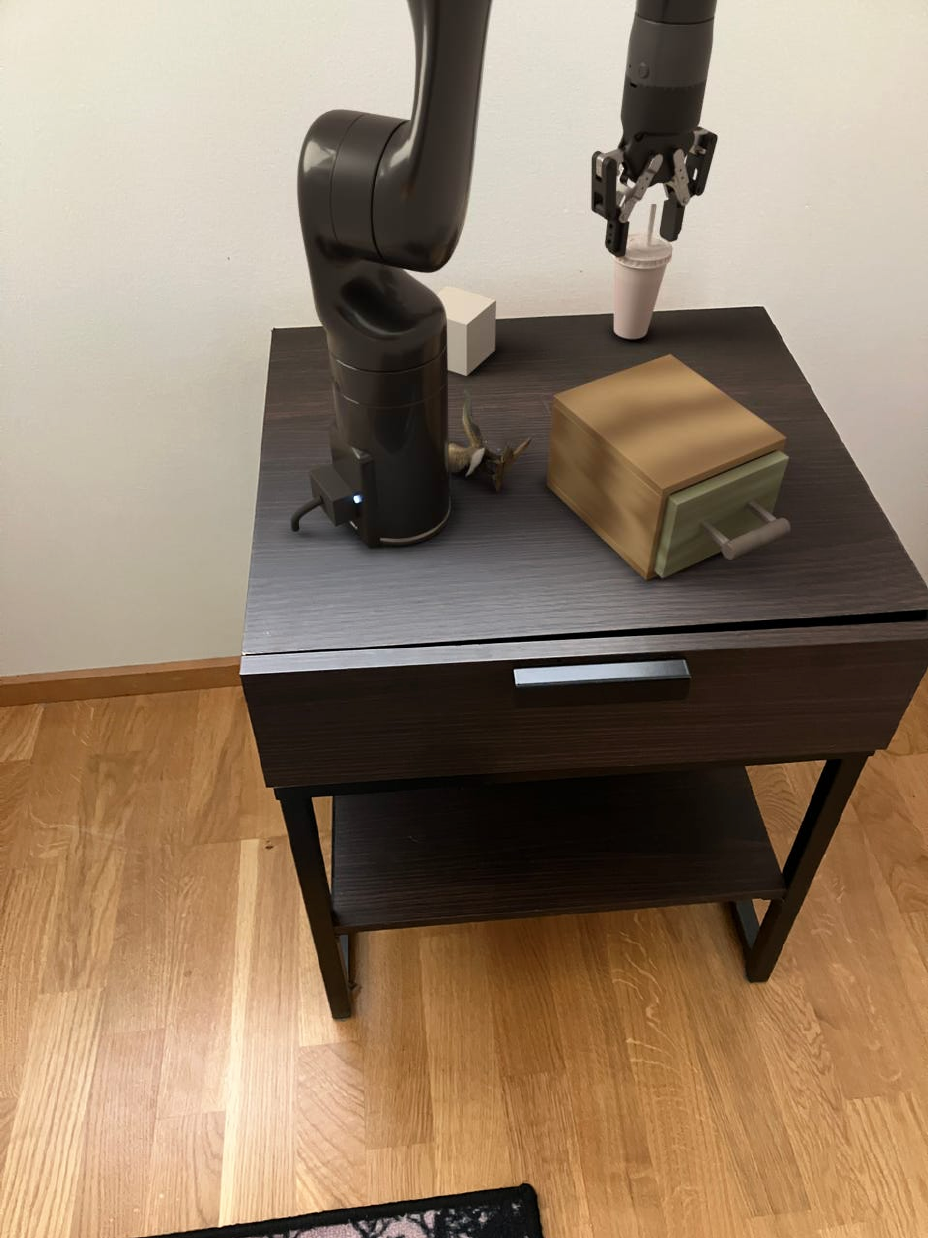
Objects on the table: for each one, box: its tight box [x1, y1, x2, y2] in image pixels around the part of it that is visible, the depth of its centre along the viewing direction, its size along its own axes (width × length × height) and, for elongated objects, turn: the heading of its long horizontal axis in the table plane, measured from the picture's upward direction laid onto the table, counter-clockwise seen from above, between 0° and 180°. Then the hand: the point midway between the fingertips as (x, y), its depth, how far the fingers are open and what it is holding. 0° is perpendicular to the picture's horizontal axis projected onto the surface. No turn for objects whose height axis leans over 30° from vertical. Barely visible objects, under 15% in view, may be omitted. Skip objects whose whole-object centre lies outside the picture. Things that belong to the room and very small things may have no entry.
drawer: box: [654, 450, 791, 579], centre depth 81 cm, size 18×12×8 cm, turn 31°
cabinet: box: [546, 353, 787, 581], centre depth 84 cm, size 15×13×10 cm
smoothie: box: [610, 203, 674, 340], centre depth 102 cm, size 6×6×14 cm
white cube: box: [436, 285, 497, 377], centre depth 103 cm, size 6×6×6 cm
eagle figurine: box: [449, 389, 533, 492], centre depth 89 cm, size 8×7×9 cm
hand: (642, 245), depth 100 cm, fingers closed on smoothie, 6 cm apart
